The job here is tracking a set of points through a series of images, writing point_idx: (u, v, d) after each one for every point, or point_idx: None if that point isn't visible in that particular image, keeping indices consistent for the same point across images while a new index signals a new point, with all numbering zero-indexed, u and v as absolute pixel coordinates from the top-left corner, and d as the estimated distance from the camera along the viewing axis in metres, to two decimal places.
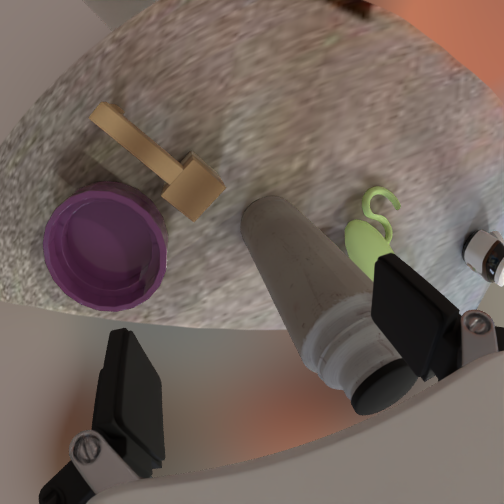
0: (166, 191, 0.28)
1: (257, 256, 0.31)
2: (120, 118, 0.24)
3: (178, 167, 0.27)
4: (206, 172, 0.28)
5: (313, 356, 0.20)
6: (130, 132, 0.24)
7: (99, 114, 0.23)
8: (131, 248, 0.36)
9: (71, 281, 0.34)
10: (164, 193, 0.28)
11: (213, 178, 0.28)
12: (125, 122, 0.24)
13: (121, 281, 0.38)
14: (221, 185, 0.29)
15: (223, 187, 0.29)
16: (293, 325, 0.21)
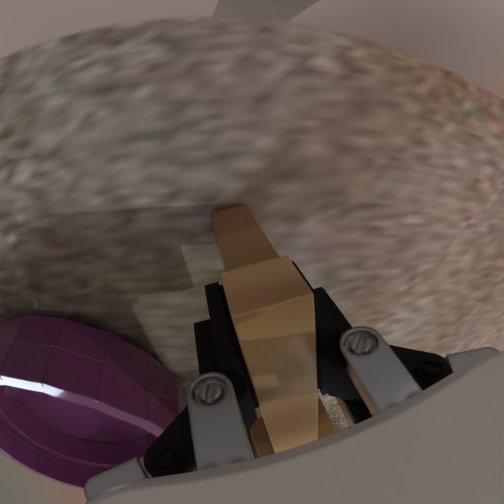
0: None
1: None
2: (314, 364, 0.08)
3: None
4: None
5: None
6: (303, 399, 0.09)
7: (275, 328, 0.07)
8: (112, 424, 0.17)
9: None
10: None
11: None
12: (314, 376, 0.09)
13: (75, 440, 0.17)
14: None
15: None
16: None
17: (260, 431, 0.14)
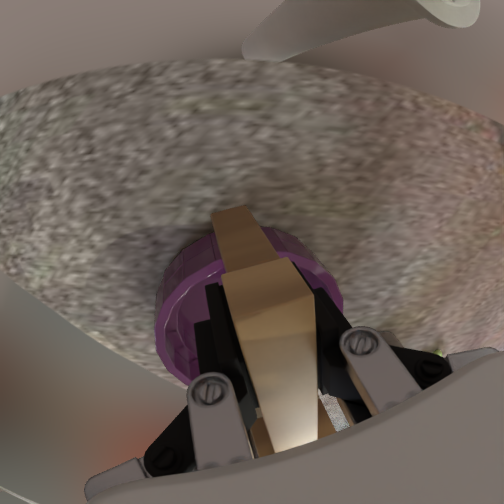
0: None
1: None
2: (314, 365, 0.08)
3: None
4: None
5: None
6: (303, 400, 0.09)
7: (275, 330, 0.07)
8: None
9: (165, 332, 0.24)
10: None
11: None
12: (314, 377, 0.09)
13: None
14: None
15: None
16: None
17: (260, 431, 0.14)
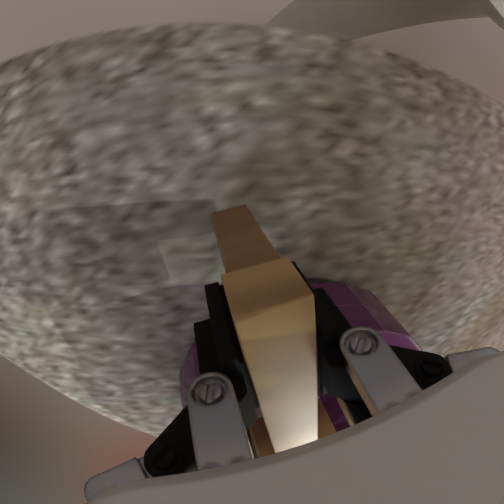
0: None
1: None
2: (314, 365, 0.08)
3: None
4: None
5: None
6: (303, 400, 0.09)
7: (276, 329, 0.07)
8: None
9: None
10: None
11: None
12: (314, 377, 0.09)
13: None
14: None
15: None
16: None
17: (260, 431, 0.14)
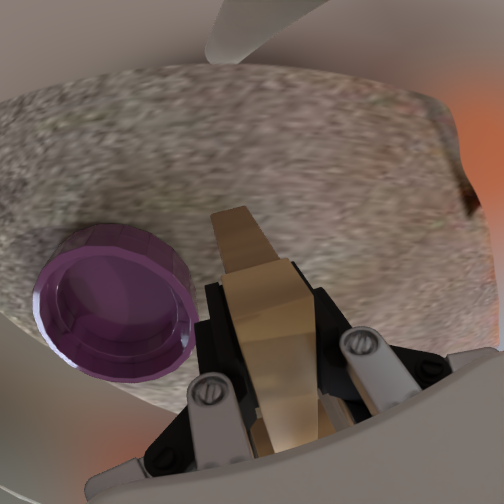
0: None
1: None
2: (313, 366, 0.08)
3: None
4: None
5: None
6: (303, 400, 0.09)
7: (275, 330, 0.07)
8: (138, 318, 0.29)
9: (50, 317, 0.24)
10: None
11: None
12: (314, 378, 0.09)
13: (105, 340, 0.29)
14: None
15: None
16: None
17: (260, 432, 0.14)
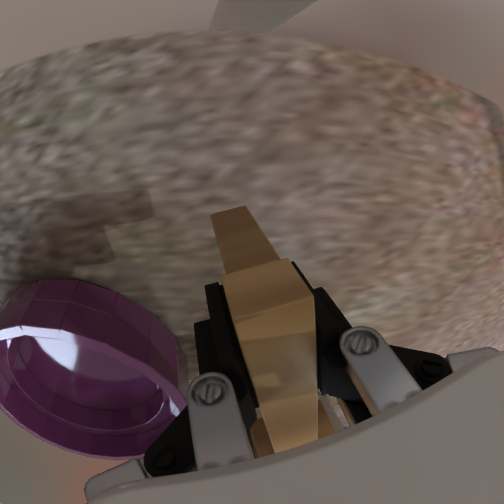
0: None
1: None
2: (314, 366, 0.08)
3: None
4: None
5: None
6: (303, 401, 0.09)
7: (275, 331, 0.07)
8: (115, 388, 0.20)
9: (7, 386, 0.15)
10: None
11: None
12: (314, 378, 0.09)
13: (79, 407, 0.20)
14: None
15: None
16: None
17: (260, 432, 0.14)
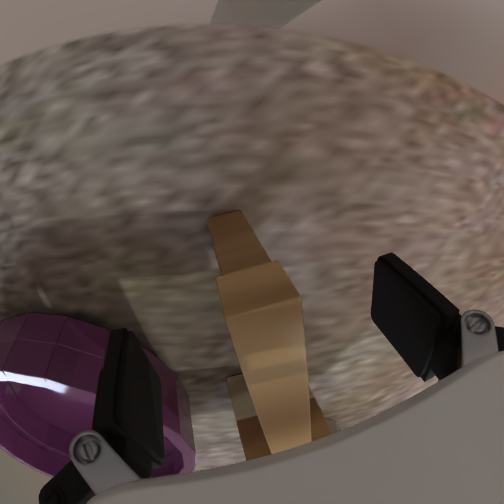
0: None
1: None
2: (304, 363, 0.09)
3: None
4: None
5: None
6: (295, 397, 0.10)
7: (265, 329, 0.08)
8: None
9: None
10: None
11: None
12: (305, 375, 0.09)
13: None
14: None
15: None
16: None
17: (256, 429, 0.15)
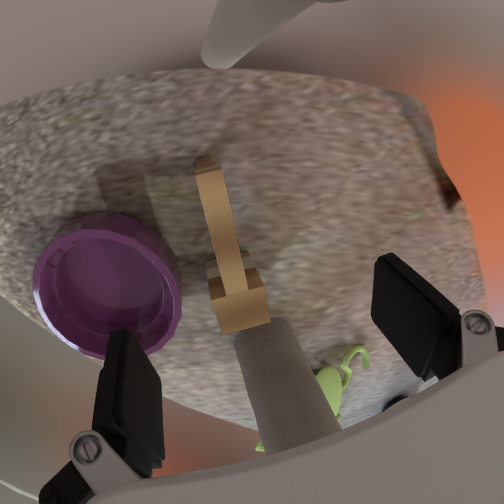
0: (219, 299, 0.26)
1: (259, 385, 0.29)
2: (228, 203, 0.22)
3: (246, 285, 0.26)
4: (265, 302, 0.27)
5: None
6: (227, 225, 0.23)
7: (209, 181, 0.21)
8: (128, 300, 0.31)
9: (48, 298, 0.26)
10: (216, 299, 0.26)
11: (267, 309, 0.28)
12: (229, 211, 0.23)
13: (98, 322, 0.31)
14: (268, 318, 0.28)
15: (269, 320, 0.28)
16: None
17: (218, 281, 0.28)
